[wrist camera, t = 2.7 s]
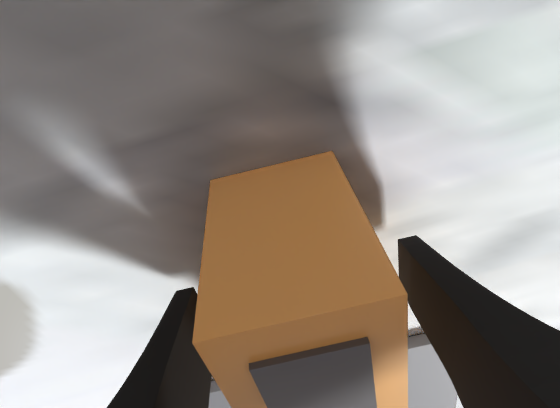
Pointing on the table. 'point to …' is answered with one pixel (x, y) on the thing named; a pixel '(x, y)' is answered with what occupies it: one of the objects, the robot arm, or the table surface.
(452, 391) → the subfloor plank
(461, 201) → the table surface
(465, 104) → the table surface
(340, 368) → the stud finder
